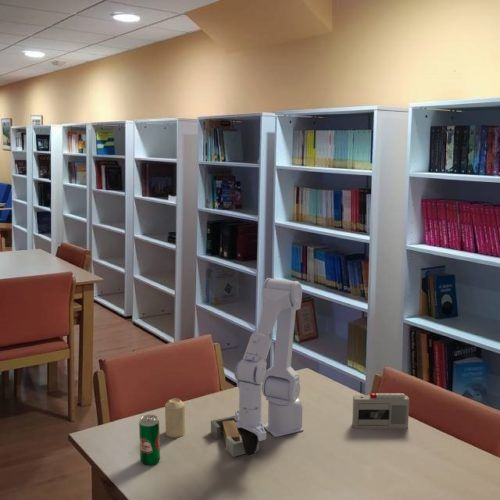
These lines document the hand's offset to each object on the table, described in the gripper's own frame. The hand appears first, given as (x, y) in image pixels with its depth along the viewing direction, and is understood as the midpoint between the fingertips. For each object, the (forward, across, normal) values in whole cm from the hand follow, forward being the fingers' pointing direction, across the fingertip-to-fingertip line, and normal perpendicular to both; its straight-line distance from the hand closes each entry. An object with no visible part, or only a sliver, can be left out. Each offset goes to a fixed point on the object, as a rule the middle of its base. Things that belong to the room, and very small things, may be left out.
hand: (250, 453), depth 158 cm
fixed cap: (+1, -16, 0) cm, 16 cm away
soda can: (+2, -10, -24) cm, 26 cm away
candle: (+1, -22, -13) cm, 25 cm away
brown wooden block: (+2, -12, 0) cm, 12 cm away
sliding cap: (+1, -5, 0) cm, 5 cm away
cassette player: (+2, 0, +42) cm, 42 cm away
